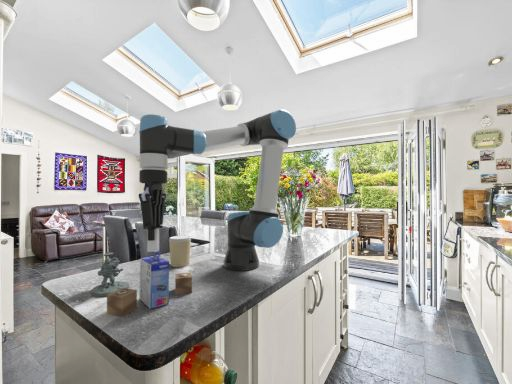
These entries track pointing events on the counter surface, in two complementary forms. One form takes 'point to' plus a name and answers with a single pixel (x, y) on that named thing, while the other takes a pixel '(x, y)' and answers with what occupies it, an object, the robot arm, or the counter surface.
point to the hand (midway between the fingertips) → (153, 250)
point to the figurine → (110, 272)
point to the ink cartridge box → (154, 281)
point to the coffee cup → (180, 250)
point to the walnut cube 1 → (121, 302)
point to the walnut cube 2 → (183, 283)
